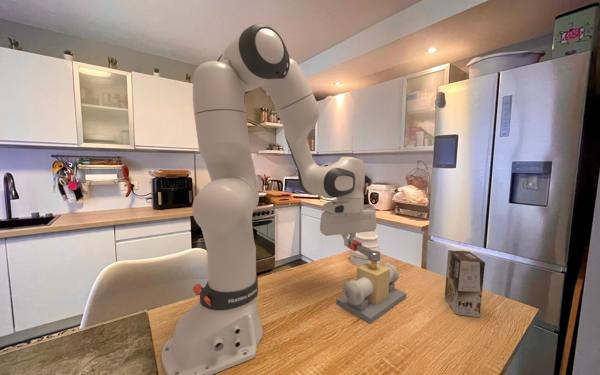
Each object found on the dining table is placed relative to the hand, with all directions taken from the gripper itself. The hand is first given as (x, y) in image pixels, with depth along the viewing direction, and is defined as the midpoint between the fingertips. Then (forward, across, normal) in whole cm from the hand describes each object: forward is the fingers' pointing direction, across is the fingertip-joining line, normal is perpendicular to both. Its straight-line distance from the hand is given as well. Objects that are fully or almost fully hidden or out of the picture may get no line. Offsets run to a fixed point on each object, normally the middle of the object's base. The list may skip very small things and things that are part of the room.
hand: (348, 245), depth 82 cm
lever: (+1, -3, +5) cm, 6 cm away
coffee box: (+15, -26, +22) cm, 37 cm away
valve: (+15, -3, +10) cm, 18 cm away
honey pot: (+15, -19, -16) cm, 29 cm away
